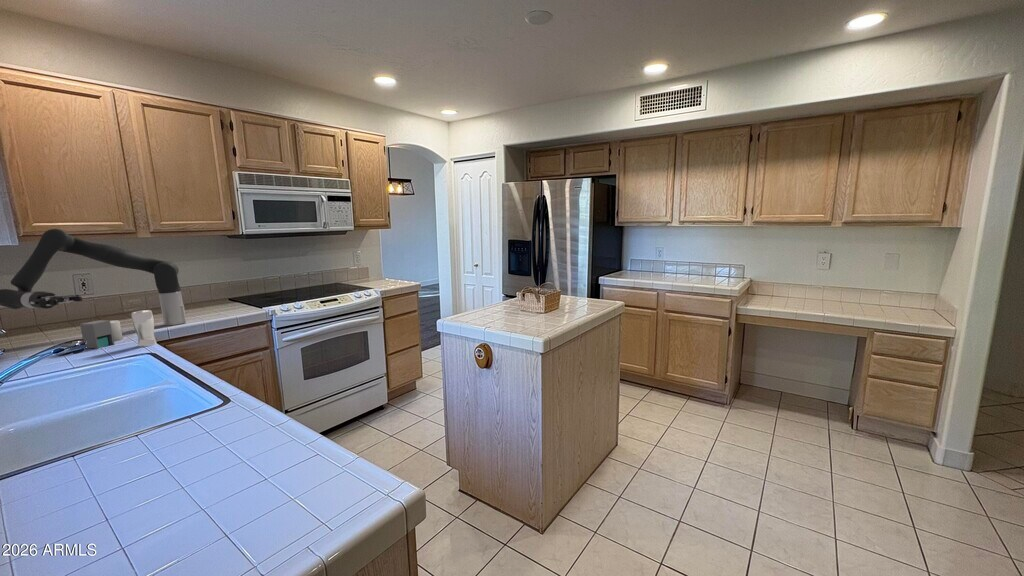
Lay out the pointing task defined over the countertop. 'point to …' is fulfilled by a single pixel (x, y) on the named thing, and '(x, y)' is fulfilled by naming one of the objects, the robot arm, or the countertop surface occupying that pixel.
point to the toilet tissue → (116, 330)
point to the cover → (96, 332)
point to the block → (102, 341)
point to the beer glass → (144, 327)
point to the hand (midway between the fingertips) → (69, 300)
